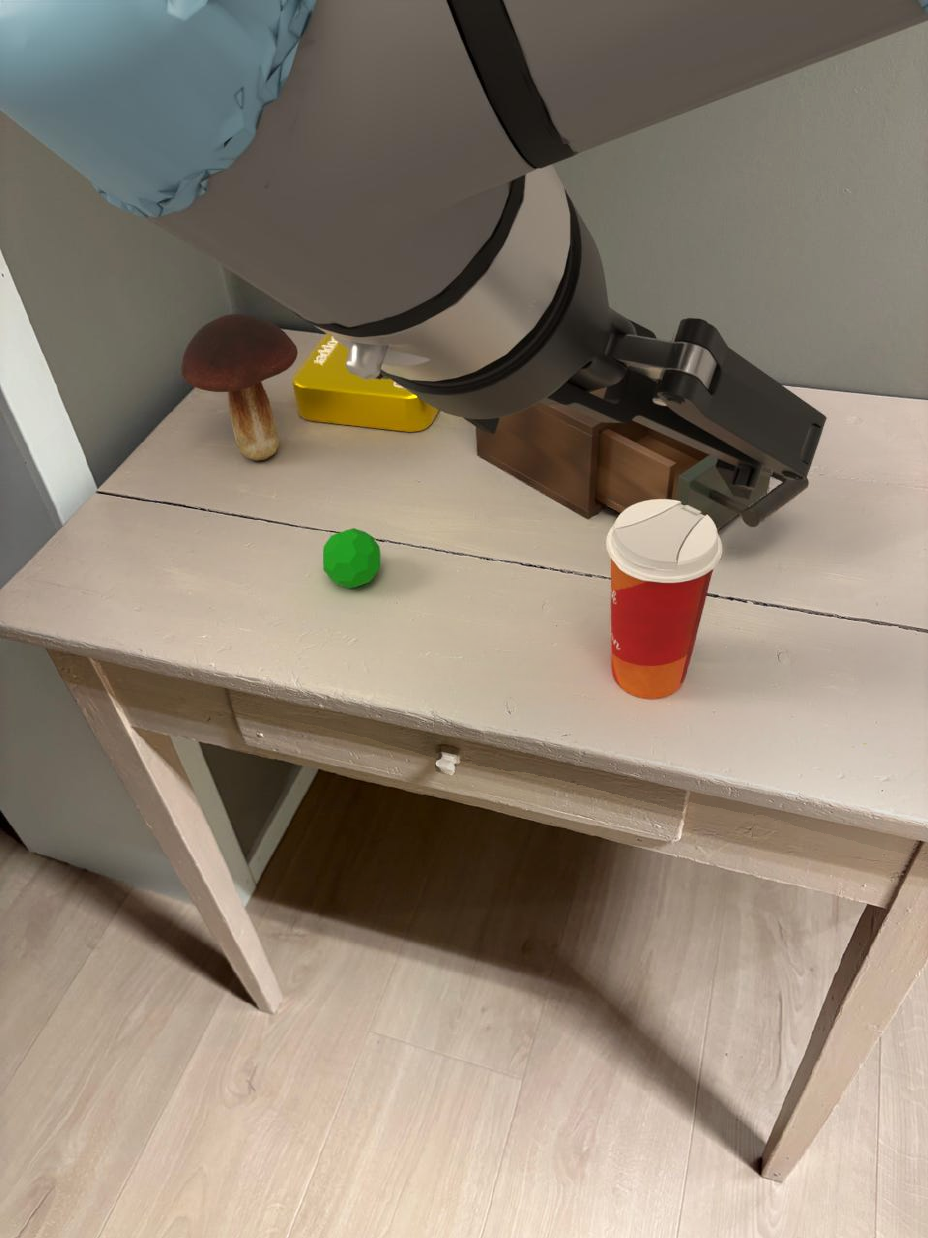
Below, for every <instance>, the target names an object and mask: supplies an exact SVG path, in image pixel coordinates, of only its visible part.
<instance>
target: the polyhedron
mask: <svg viewBox="0 0 928 1238" xmlns="http://www.w3.org/2000/svg"><path fill="white" fill-rule="evenodd" d="M322 548H323V549H322V566H323V567H322V568H323V571H324V573H325V574H326V575H327V576H328V578H329V579H330V580H331V582H333V583H334V584H336V585H338V586H341V587H344V588H347V589H353V588H357V587H360V586H362V585H365V584H368V583H370V582H371V581H373V579H374V578H375V576H376V575H377V573H378V572H379V571H380V568H381V549H380V545H379V544H378V542H377V541H376V539H375V538H374V537H373V536H372V535H371V534H369V533H367V532H366V531H364V530H361V529H358V528H355V527H352V528H350V529H349V528H348V529H346V530H343V531H340V532H337V533H334V534H332V535H330V537H329V538H328V540H327V541H326V542H325V543H324V545H323V547H322Z"/></svg>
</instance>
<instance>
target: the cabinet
mask: <svg viewBox="0 0 928 1238" xmlns="http://www.w3.org/2000/svg"><path fill="white" fill-rule="evenodd" d="M606 389H607V387H605V388H602V389H598V390H595V391H592V392H589V393H591V394H593V395H595V396H598V397H600V398H602V399H603V398H604V395H605V392H606ZM611 424H613V423H606V422H601V421H599V420H597V419H594V418H592V417H590V416H587V415H585V414H583V413H581V412H578V411H576V410H574V409H571V408H569V407H567V406H564V405H545V404H542V403H540V402H539V403H537V404H536V405H534V406H532V407H530V408H528V409H525V410H523V411H521V412H518V413H515V414H512V415H508V416H504V417H500V419H499V422H498V425H497V428H496V431H495V434H492V433H488V432H484V431H481V430H480V429H478V428H477V427H475V435H476V436H475V437H476V439H475V440H476V456H477V457H479V458H481V459H483V460H485V461H486V462H488V463H489V464H491V465H493V466H495V467H496V468H497V469H500V470H502V471H503V472H505V473H506V474H508V475H510V476H512V477H514V478H515V479H517V480H518V481H521V482H522V483H524V484H525V485H528V486H530V487H531V488H533V489H534V490H536V491H538V492H540V493H542V494H543V495H545V496H547V497H548V498H550V499H552V500H554V501H555V502H557V503H559V504H561V505H562V506H563V507H565V508H567V509H569V510H571V511H573V512H574V513H576V514H578V515H579V516H581V517H583V518H584V519H587V520H589V519H591V518H592V517H593V516H595V515H597V514H599V513H600V512H601V511H603V510H605V509H606V508H607V507H608V506H607V505H605V504H603V503H602V502H600V501H598V500H596V499H595V493H596V475H597V457H598V439H599V432H600V431H601V430H603V429H605V428H606V427H608V426H609V425H611Z"/></svg>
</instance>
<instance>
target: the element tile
mask: <svg viewBox="0 0 928 1238" xmlns="http://www.w3.org/2000/svg"><path fill="white" fill-rule="evenodd" d="M348 352H349V349H348V348H347V347H345V346H344V345H342V344H341V343H340V342H339V341H337V340H336V339H335V338H334V337H332V336H331V335H329V334H327V333H325V334H324V335H323V337H322V338H321V339H320V341H319V342H318V343H317V345H316V346H315V347H314V349H313V350H312V351H311V353H310V354H309V355H308V356H307V358H306V359H305V360H304V361H303V363H302V364H301V365H300V367H299V368H298V369H297V371H296V372H295V373H294V374H293V377H292V381H291V382H292V389H293V393H294V398H295V403H296V409H297V413H298V415H299V416H300V417H301V418H302V419H304V420H307V421H311V422H317V423H326V424H334V425H344V426H353V427H360V428H361V427H362V428H368V429H369V428H370V429H378V430H386V431H387V430H389V431H397V432H403V433H416V432H421V431H424V430H426V429H427V428H429V427H430V426H431V425H432V423H433V422H434V420H435V419H436V417H437V415H438V414H439V411H440V410H438V409H436V408H434V407H432V406H430V405H429V404H427V403H426V402H424V401H423V400H421V399H420V398H418V397H417V396H415V395H414V394H412V393H411V392H409V391H408V390H406V389H405V388H403V387H402V386H400V385H399V384H397V383H396V382H395V381H393V380H392V379H390V378H389V379H381V380H379V379H375V378H374V379H368V380H364V379H362V378H360V377H359V376H357V375H355V374H352V373H350V372H349V371H348V369H347V367H346V365H345V364H346V361H347V357H348Z"/></svg>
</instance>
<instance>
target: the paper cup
mask: <svg viewBox="0 0 928 1238" xmlns="http://www.w3.org/2000/svg"><path fill="white" fill-rule="evenodd" d="M700 513H701V511H699V510H697V509H695V508H693V507H691V506H689V505H685V506H684V505H681V501H676V500H669V499H654V500H647V501H643V502H639V503H636V504H634V505H632V506H630V507H628V508H627V509H625V510H624V511H623V512H622V513H620V514H619V515H618V516H617V518H616V519H615V521H614V524H613V525H612V526H611V527H610V529H609V531H608V533H607V535H606V539H605V544H606V545H605V547H606V550H607V553H608V556H609V557H610V661H611V662H610V663H611V665H610V666H611V674H612V677H613V681H615V683H616V685H617V686H618V687H619V688H620V689H621V690H623V691H624V692H626V693H627V694H628V695H631V696H633V697H636V698H639V699H644V700H659V699H664V698H667V697H670V696H672V695H673V694H675V693H676V692H678V691H679V690H680V688H681V687H682V686H683V684H684V682H685V680H686V677H687V673H688V670H689V666H690V663H691V659H692V655H693V651H694V648H695V643H696V640H697V635H698V632H699V628H700V623H701V619H702V617H703V611H704V607H705V604H706V600H707V596H708V591H709V587H710V584H711V580H712V575H713V571H714V568H716V566H717V565H718V564H719V562H720V560H721V557H722V554H723V543H722V540H721V537H720V535H719V534H718V533H719V531H718V530H717V528H716V526H715V524H714V522H713V521H712V519H711V518H710V517H709V516H708V515H706V516H704V515H702V514H700Z"/></svg>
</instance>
